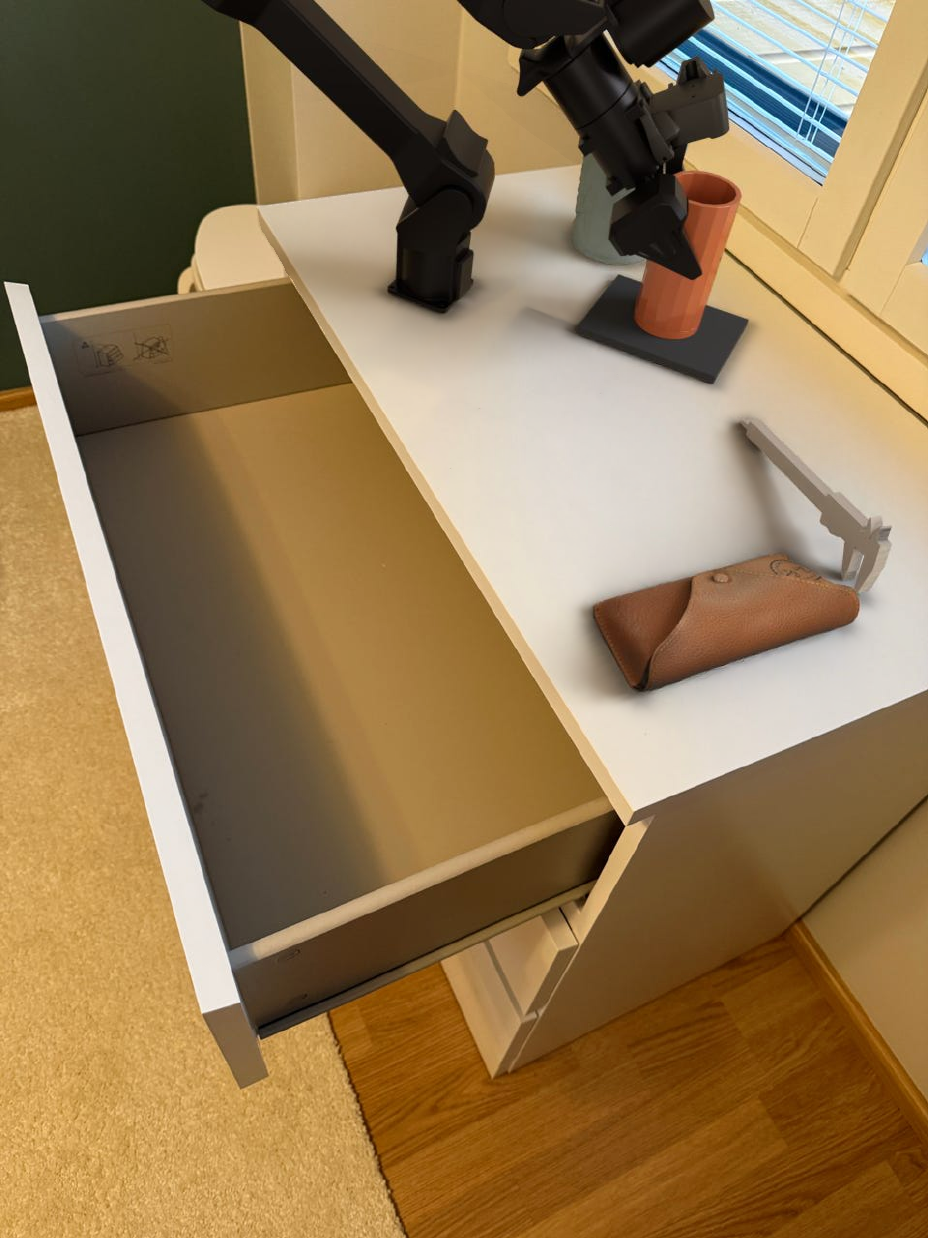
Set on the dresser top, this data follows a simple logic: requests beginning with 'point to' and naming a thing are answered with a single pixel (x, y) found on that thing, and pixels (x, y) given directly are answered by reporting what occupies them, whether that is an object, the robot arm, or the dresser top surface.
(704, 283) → the crock
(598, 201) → the green ceramic pot
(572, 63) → the robot arm
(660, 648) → the sunglasses case
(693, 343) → the mat
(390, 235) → the dresser top surface
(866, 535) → the caliper
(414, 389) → the dresser top surface
